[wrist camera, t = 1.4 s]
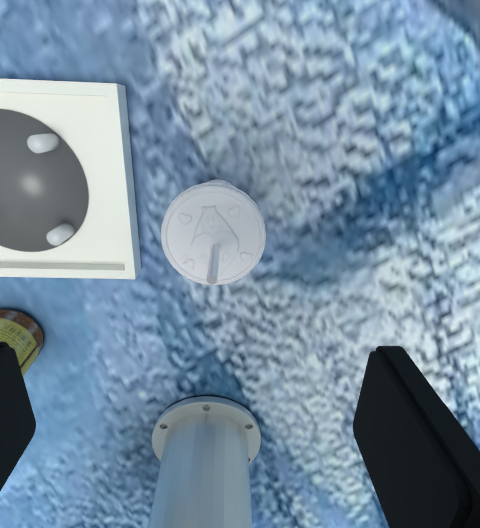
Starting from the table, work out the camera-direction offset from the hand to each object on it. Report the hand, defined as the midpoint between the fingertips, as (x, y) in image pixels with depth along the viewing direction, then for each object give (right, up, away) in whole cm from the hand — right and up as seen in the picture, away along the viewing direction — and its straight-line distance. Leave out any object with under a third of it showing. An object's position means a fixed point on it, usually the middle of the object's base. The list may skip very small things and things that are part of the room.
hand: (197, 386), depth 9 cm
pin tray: (-17, +10, +19) cm, 27 cm away
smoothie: (-1, +9, +20) cm, 22 cm away
